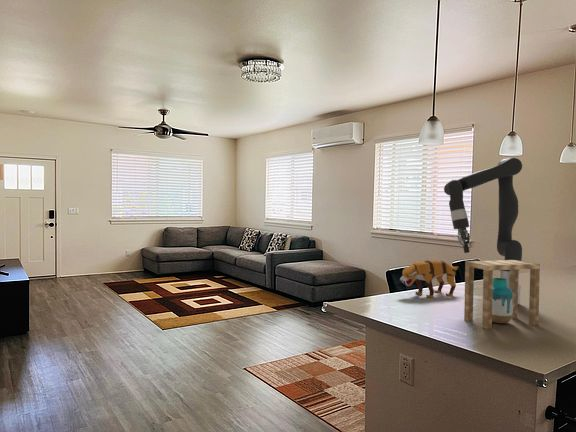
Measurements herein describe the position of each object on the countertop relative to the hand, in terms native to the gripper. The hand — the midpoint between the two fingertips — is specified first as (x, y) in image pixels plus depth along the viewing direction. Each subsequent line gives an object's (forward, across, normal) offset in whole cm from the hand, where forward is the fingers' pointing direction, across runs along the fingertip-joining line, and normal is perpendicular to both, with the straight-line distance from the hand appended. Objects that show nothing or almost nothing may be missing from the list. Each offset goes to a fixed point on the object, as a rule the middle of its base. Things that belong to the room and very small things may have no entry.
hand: (467, 252), depth 218 cm
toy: (+20, +29, +16) cm, 39 cm away
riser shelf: (+32, -26, 0) cm, 41 cm away
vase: (+32, -26, +1) cm, 41 cm away
